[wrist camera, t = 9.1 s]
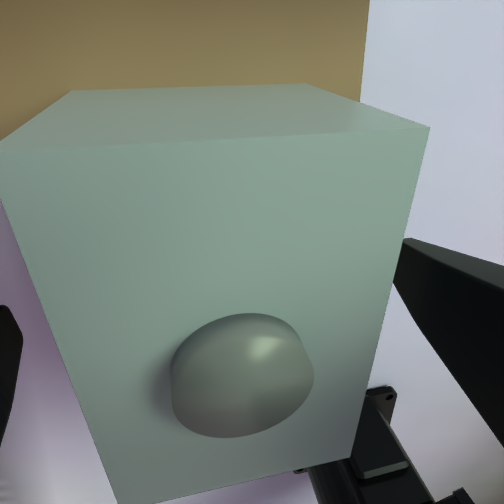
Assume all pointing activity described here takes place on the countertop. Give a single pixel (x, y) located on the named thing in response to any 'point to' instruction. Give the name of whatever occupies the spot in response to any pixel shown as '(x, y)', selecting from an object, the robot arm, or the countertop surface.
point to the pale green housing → (213, 270)
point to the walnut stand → (173, 47)
